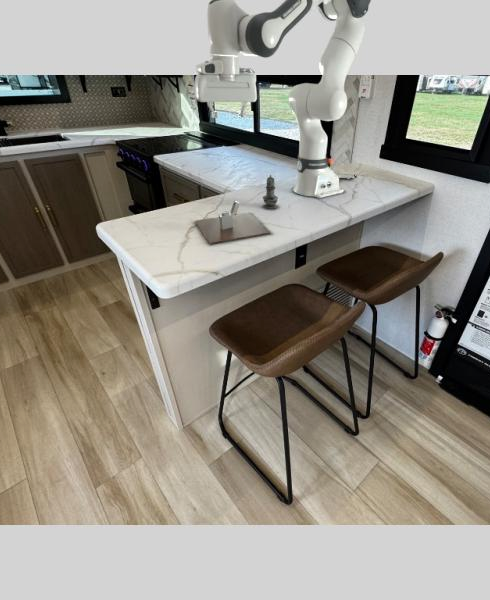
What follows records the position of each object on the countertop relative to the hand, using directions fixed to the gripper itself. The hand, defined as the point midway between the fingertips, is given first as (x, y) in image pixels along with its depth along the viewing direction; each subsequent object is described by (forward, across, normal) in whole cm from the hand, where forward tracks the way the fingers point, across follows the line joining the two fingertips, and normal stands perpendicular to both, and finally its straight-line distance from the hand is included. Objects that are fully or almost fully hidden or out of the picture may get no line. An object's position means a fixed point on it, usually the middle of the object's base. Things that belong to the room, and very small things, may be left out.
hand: (228, 117), depth 108 cm
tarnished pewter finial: (+29, -11, +11) cm, 33 cm away
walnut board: (+29, +9, +24) cm, 39 cm away
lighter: (+29, +9, +24) cm, 38 cm away
